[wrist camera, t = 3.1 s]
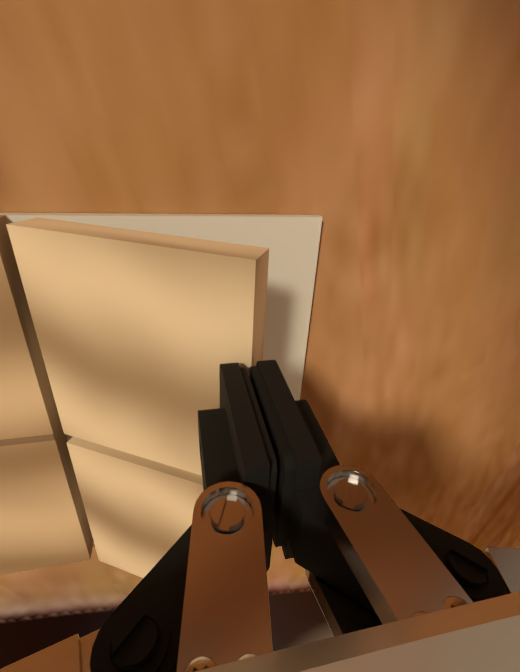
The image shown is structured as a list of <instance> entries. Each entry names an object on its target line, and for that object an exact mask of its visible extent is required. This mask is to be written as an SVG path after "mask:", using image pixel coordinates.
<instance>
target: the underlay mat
mask: <svg viewBox="0 0 520 672" xmlns="http://www.w3.org/2000/svg"><path fill="white" fill-rule="evenodd" d="M0 215H6V219H7V222H8V224H10V223H14V222H19V221H23V220H28V219H32V218H37V217H39V218H47V219H54V220H62V221H69V222H77V223H84V224H92V225H99V226H107V227H114V228H122V229H129V230H137V231H144V232H152V233H159V234H167V235H174V236H182V237H189V238H197V239H204V240H212V241H219V242H227V243H234V244H242V245H249V246H257V247H264V248H269V263H268V280H267V296H266V313H265V330H264V346H263V361H264V360H276V362H277V364H278V366H279V368H280V370H281V372H282V374H283V376H284V378H285V381H286V383H287V385H288V387H289V389H290V391H291V393H292V396H293V398H294V400H300V394H301V386H302V378H303V370H304V362H305V354H306V346H307V338H308V330H309V322H310V314H311V306H312V298H313V290H314V282H315V274H316V266H317V258H318V250H319V242H320V234H321V226H322V218H323V217H322V216H320V215H263V214H111V213H0ZM66 437H67V441H69V440H70V439H71V438H72V437H73V436H70V435H67V434H66ZM93 544H94V541H93Z"/></svg>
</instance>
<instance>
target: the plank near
mask: <svg viewBox="0 0 520 672" xmlns="http://www.w3.org/2000/svg"><path fill="white" fill-rule="evenodd" d="M6 226H7V230H8V233H9V237H10V240H11V244H12V248H13V251H14V255H15V259H16V262H17V266H18V269H19V273H20V277H21V280H22V284H23V287H24V291H25V295H26V298H27V302H28V305H29V309H30V313H31V316H32V320H33V324H34V327H35V331H36V334H37V338H38V342H39V345H40V349H41V352H42V356H43V360H44V363H45V367H46V371H47V374H48V378H49V381H50V385H51V389H52V392H53V396H54V399H55V403H56V407H57V410H58V414H59V418H60V421H61V425H62V428H63V432H64V434H67V435H70V436H73V437H76V438H80V439H83V440H86V441H90V442H93V443H96V444H99V445H103V446H106V447H109V448H113V449H116V450H119V451H122V452H126V453H129V454H132V455H136V456H139V457H142V458H146V459H149V460H152V461H155V462H159V463H162V464H165V465H169V466H172V467H175V468H178V469H182V470H185V471H188V472H192V473H195V474H198V475H201V476H202V470H201V460H200V448H199V433H198V410H207V409H217V408H220V377H219V367H220V364H225V363H239V366H240V367H246V369H247V372H248V375H249V378H250V367H251V366H256V362H257V361H263V346H264V330H265V313H266V296H267V280H268V263H269V248H264V247H257V246H249V245H242V244H234V243H227V242H219V241H212V240H204V239H197V238H189V237H182V236H174V235H167V234H159V233H152V232H144V231H137V230H129V229H122V228H114V227H107V226H99V225H92V224H84V223H77V222H69V221H62V220H54V219H47V218H39V217H37V218H32V219H28V220H23V221H19V222H14V223H10V224H6Z"/></svg>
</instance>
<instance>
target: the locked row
mask: <svg viewBox="0 0 520 672" xmlns="http://www.w3.org/2000/svg"><path fill="white" fill-rule="evenodd" d="M6 224H8V222H7V219H6V215H0V575H4V574H10V573H16V572H21V571H27V570H33V569H38V568H44V567H50V566H56V565H61V564H67V563H73V562H78V561H84V560H90V558H91V553H92V547H93V541H94V540H93V537H92V533H91V530H90V526H89V522H88V519H87V515H86V512H85V508H84V504H83V501H82V497H81V493H80V490H79V486H78V483H77V479H76V475H75V472H74V468H73V465H72V461H71V457H70V454H69V450H68V446H67V442H68V441H67V437H66V434H64V432H63V428H62V425H61V421H60V418H59V414H58V410H57V407H56V403H55V399H54V396H53V392H52V389H51V385H50V381H49V378H48V374H47V371H46V367H45V363H44V360H43V356H42V352H41V349H40V345H39V342H38V338H37V334H36V331H35V327H34V324H33V320H32V316H31V313H30V309H29V305H28V302H27V298H26V295H25V291H24V287H23V284H22V280H21V277H20V273H19V269H18V266H17V262H16V259H15V255H14V251H13V248H12V244H11V240H10V237H9V233H8V230H7V226H6Z"/></svg>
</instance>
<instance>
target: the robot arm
mask: <svg viewBox="0 0 520 672" xmlns="http://www.w3.org/2000/svg"><path fill="white" fill-rule="evenodd" d="M219 377H220V408H217V409H207V410H198V433H199V448H200V460H201V470H202V480H203V490H204V491H203V492H202V493H201V494H200V496H199V497H198V499H197V500H196V503H195V506H194V510H193V518H192V525H191V526H190V527H189V528H188V529H187V530H186V531H185V532H184V533H183V535H182V536H181V537H180V538H179V539H178V540H177V541H176V542H175V544H174V545H173V546H172V547H171V548H170V549H169V550H168V551H167V553H166V554H165V555H164V556H163V557H162V558H161V559H160V560H159V562H158V563H157V564H156V565H155V566H154V567H153V568H152V569H151V570H150V572H149V573H148V574H147V575H146V576H145V577H144V578H143V579H142V581H141V582H140V583H139V584H138V585H137V586H136V587H135V588H134V590H133V591H132V592H131V593H130V594H129V595H128V596H127V597H126V598H125V600H124V601H123V602H122V603H121V604H120V605H119V606H118V607H117V609H116V610H115V611H114V612H113V613H112V614H111V615H110V616H109V618H108V619H107V620H106V622H105V623H104V625H103V626H102V627H101V629H99V630H97V631H94V632H92V633H91V634H88V635H86V636H84V637H82V638H79V636H78V634H76V635H74V636H72V637H70V638H67V639H65V640H63V641H61V642H59V643H56V644H54V645H52V646H50V647H48V648H46V649H43V650H41V651H39V652H37V653H35V654H32V655H30V656H28V657H26V658H24V659H22V660H19V661H17V662H15V663H13V664H11V665H8V666H6V667H4V668H2V669H0V672H520V549H516V548H498V547H487V548H486V549H485V551H481V550H479V549H478V548H476V547H475V546H473V545H471V544H470V543H468V542H466V541H464V540H462V539H460V538H458V537H456V536H454V535H452V534H450V533H448V532H446V531H444V530H442V529H440V528H438V527H436V526H434V525H432V524H430V523H428V522H426V521H424V520H422V519H420V518H418V517H416V516H414V515H412V514H410V513H408V512H406V511H404V510H402V509H400V508H399V507H398V506H397V505H396V503H395V502H394V501H393V500H392V498H391V497H390V496H389V495H388V493H387V492H386V491H385V490H384V488H383V487H382V486H381V484H380V483H379V482H378V481H377V480H376V479H375V478H374V477H373V476H372V475H371V474H370V473H368V472H366V471H365V470H363V469H361V468H358V467H355V466H351V465H340V464H339V462H338V460H337V458H336V456H335V454H334V452H333V450H332V449H331V447H330V445H329V443H328V441H327V439H326V437H325V435H324V433H323V431H322V429H321V427H320V425H319V423H318V421H317V419H316V417H315V415H314V414H313V412H312V410H311V408H310V406H309V404H308V402H307V401H306V400H294V398H293V396H292V393H291V391H290V389H289V387H288V385H287V383H286V381H285V378H284V376H283V374H282V372H281V370H280V368H279V366H278V364H277V362H276V360H264V361H257V362H256V366H251V367H250V378H249V375H248V372H247V369H246V367H240V366H239V363H225V364H220V367H219ZM272 538H273V542H274V545H275V546H276V547H278V546H282V549H283V553H284V556H285V559H288V558H294V560H295V563H297V564H299V565H300V566H302V567H303V568H305V569H306V575H307V579H308V582H309V584H310V586H311V588H312V590H313V592H314V595H315V597H316V599H317V601H318V603H319V605H320V608H321V610H322V612H323V614H324V616H325V618H326V620H327V623H328V625H329V627H330V629H331V631H332V634H333V635H334V637H331V638H327V639H323V640H319V641H315V642H311V643H307V644H302V645H298V646H295V647H290V648H287V649H283V650H279V651H275V652H273V649H272V636H271V623H270V610H269V597H268V584H267V571H268V569H269V567H270V557H271V547H272Z"/></svg>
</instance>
